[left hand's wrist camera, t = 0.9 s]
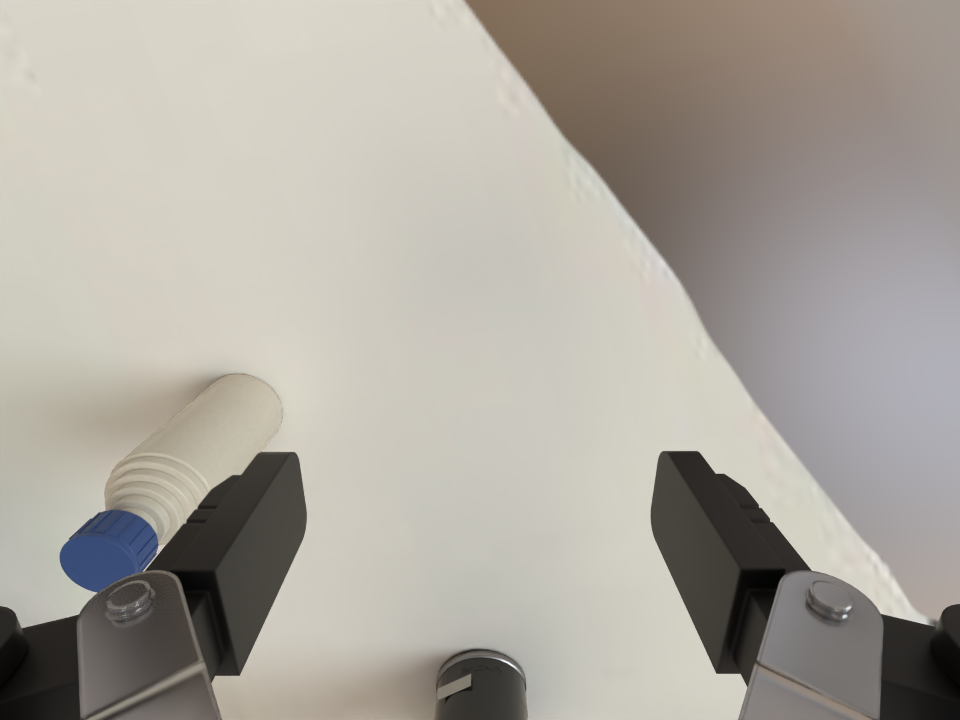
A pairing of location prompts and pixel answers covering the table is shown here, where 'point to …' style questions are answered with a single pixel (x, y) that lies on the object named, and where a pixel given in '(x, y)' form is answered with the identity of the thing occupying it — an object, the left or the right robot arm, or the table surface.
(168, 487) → the bottle
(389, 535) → the table surface
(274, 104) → the table surface
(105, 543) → the cap
